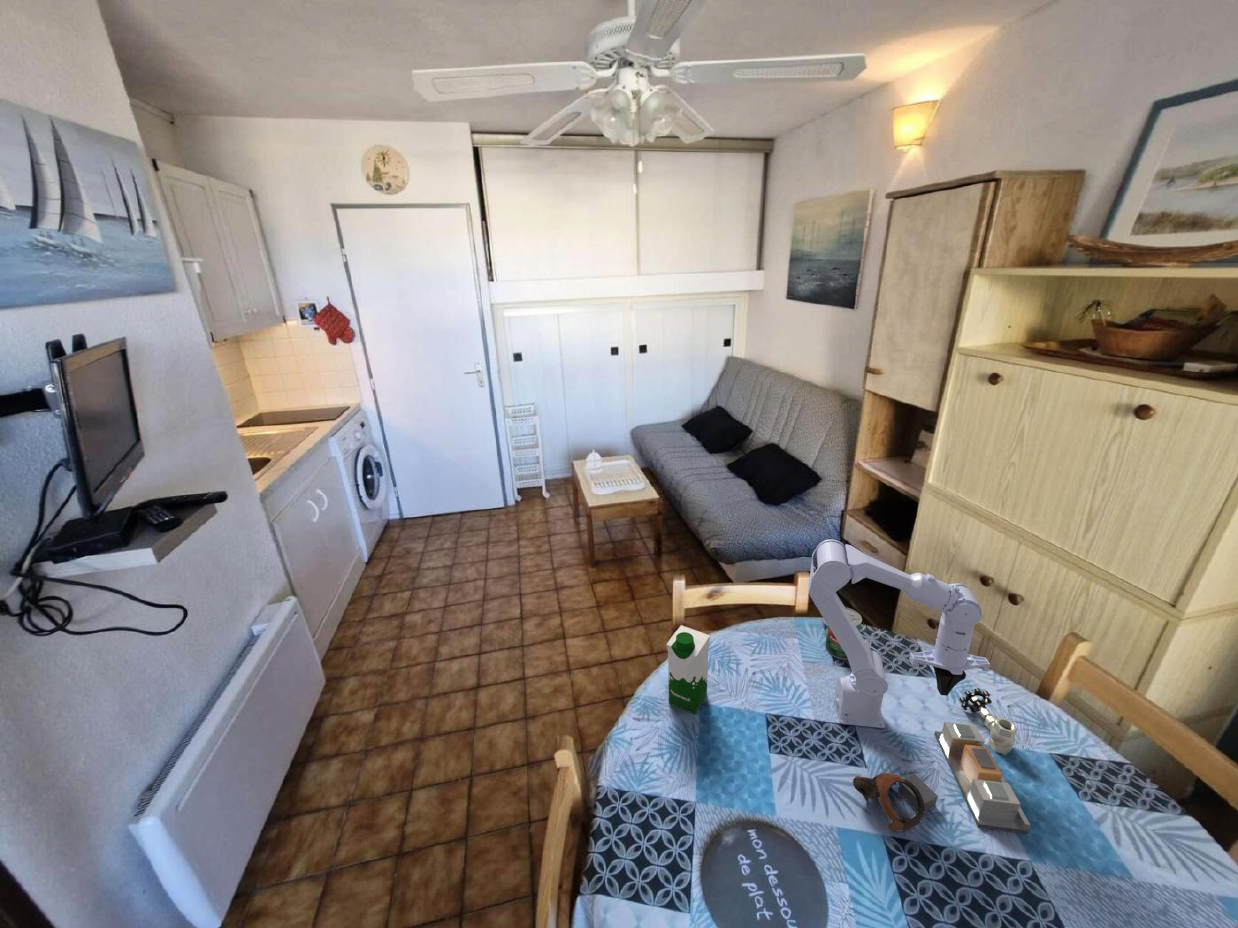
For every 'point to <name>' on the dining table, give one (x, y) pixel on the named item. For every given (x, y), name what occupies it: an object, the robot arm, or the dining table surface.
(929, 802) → the dark gray block
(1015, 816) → the rail plate
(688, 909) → the dining table surface
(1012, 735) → the valve
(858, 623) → the canned tomato
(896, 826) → the knobbed brown ring
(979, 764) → the orange module
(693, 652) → the milk carton
